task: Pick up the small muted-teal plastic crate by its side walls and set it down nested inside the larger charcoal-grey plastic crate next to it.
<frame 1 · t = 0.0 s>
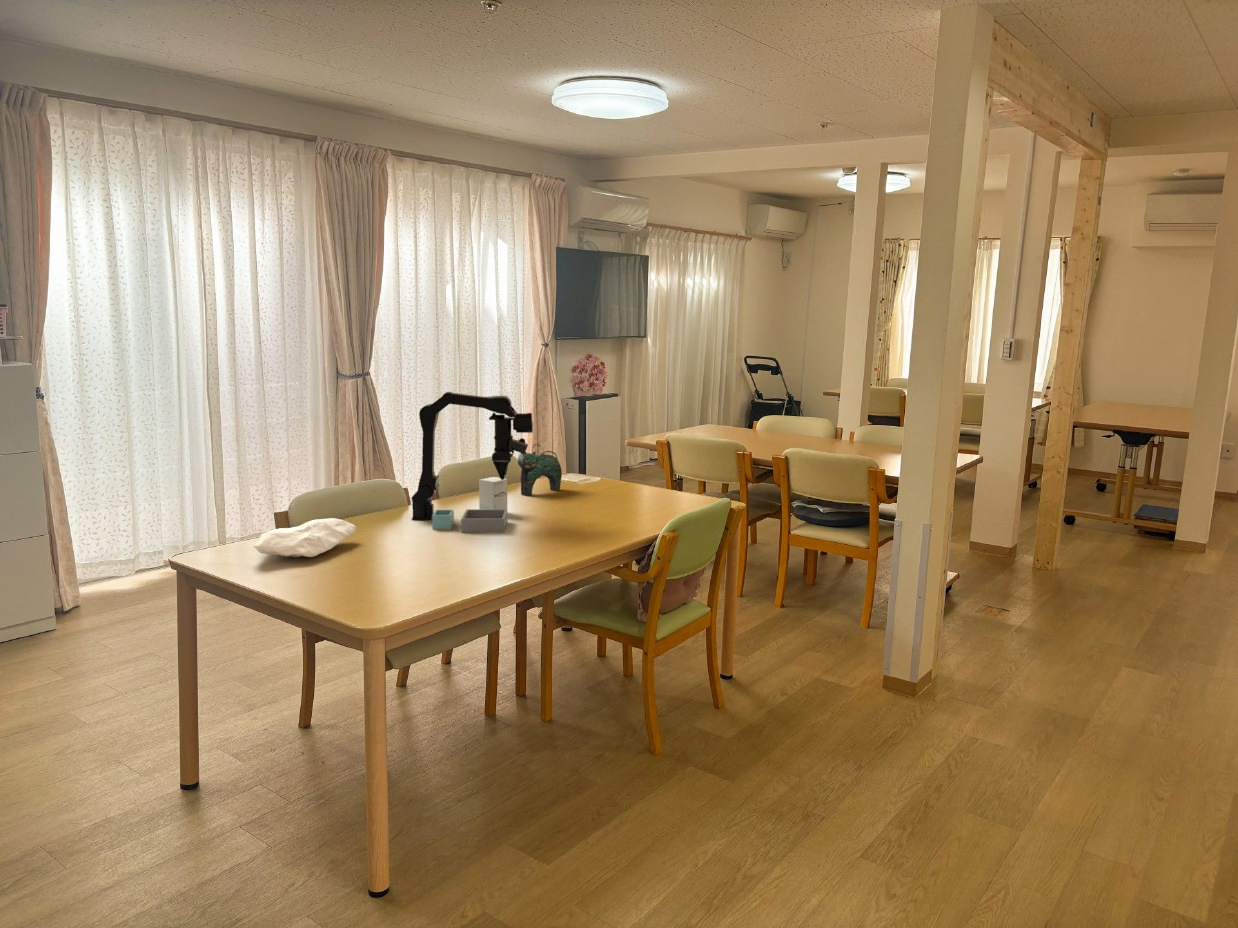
hand: (503, 477, 307), 15 cm above the table, tool pointing down, fingers open, 9 cm apart
teal crate: (443, 527, 297), on the table
supplement box: (493, 514, 316), on the table
grey crate: (485, 527, 296), on the table
crumpled cloth: (302, 552, 265), on the table
ceramic cat: (539, 493, 352), on the table
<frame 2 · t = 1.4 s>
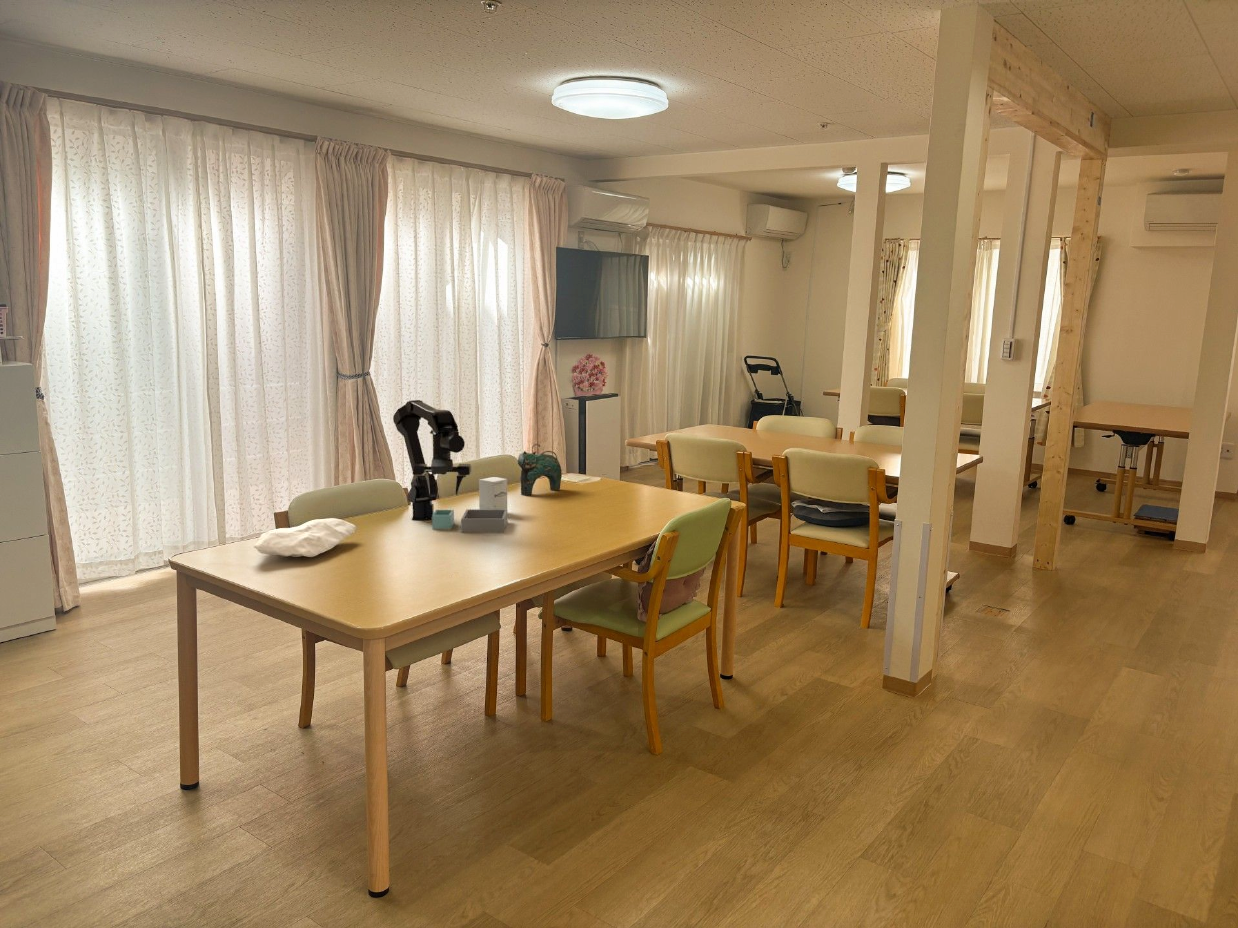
hand: (442, 494, 295), 11 cm above the table, tool pointing down, fingers open, 9 cm apart
nothing on the table moved.
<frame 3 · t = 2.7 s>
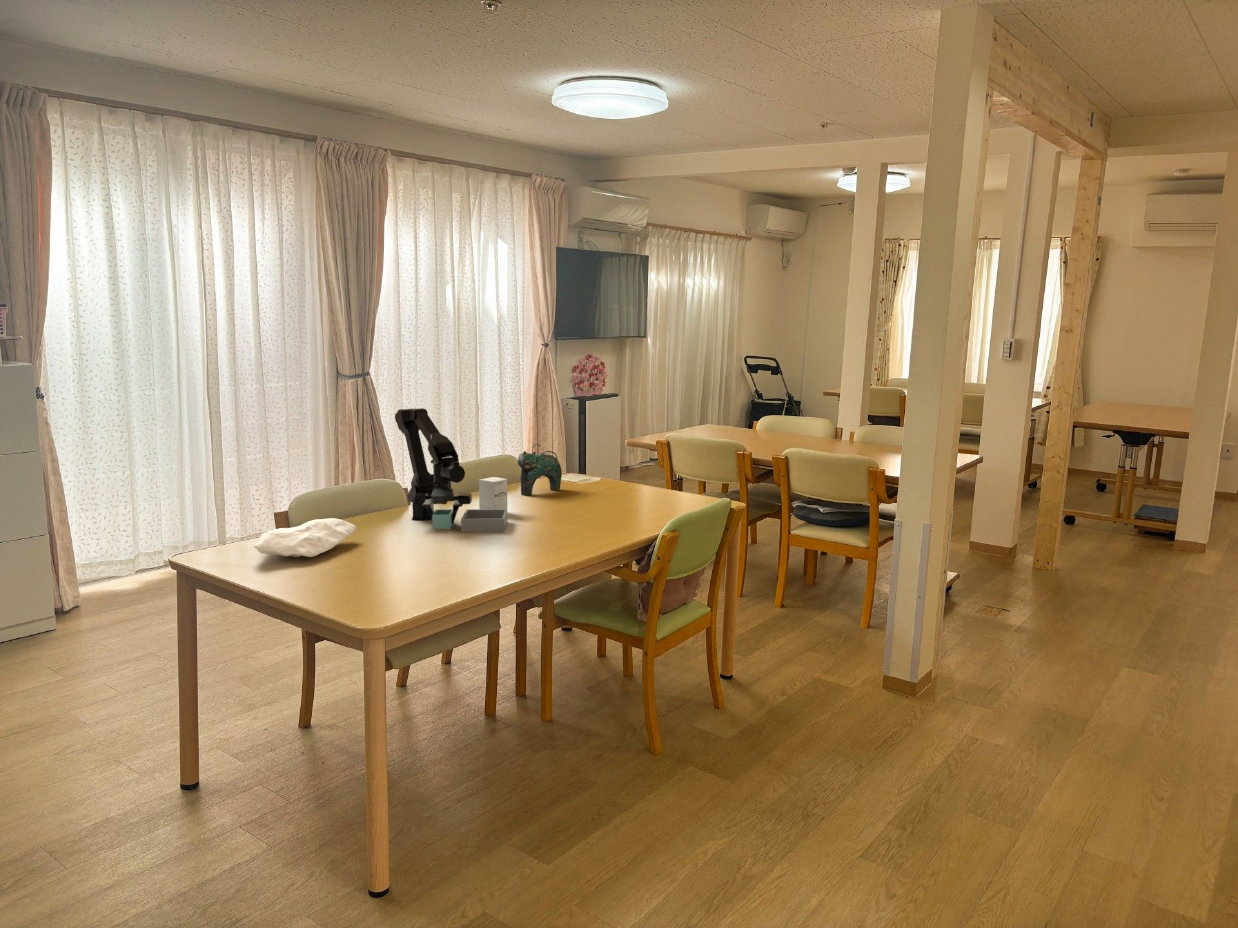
hand: (443, 523, 296), 1 cm above the table, tool pointing down, fingers closed on teal crate, 6 cm apart
teal crate: (443, 526, 296), on the table, touching gripper
everything else where it was.
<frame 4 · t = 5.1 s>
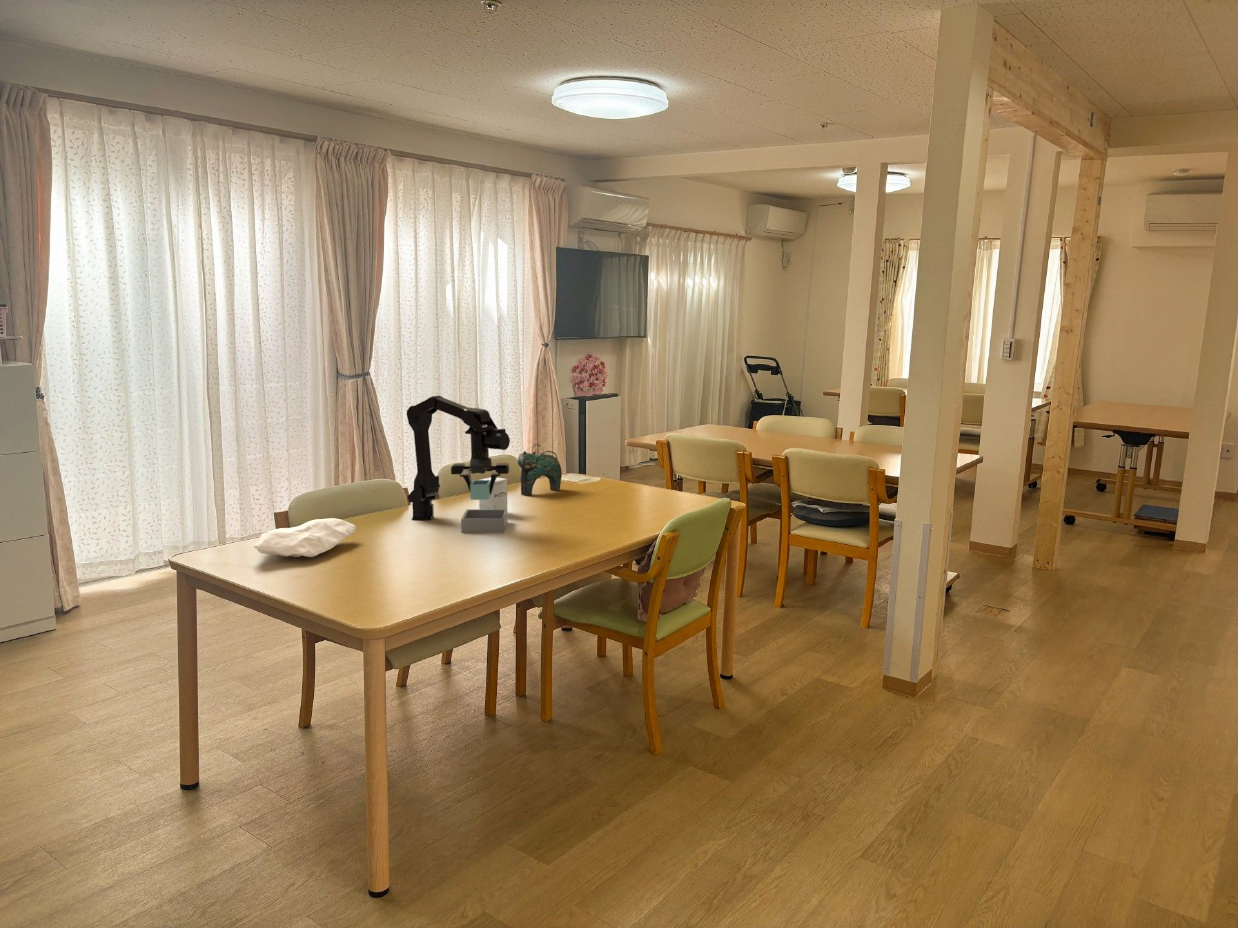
hand: (481, 494, 294), 11 cm above the table, tool pointing down, fingers closed on teal crate, 6 cm apart
teal crate: (481, 497, 294), point 10 cm above the table, touching gripper
everything else where it was.
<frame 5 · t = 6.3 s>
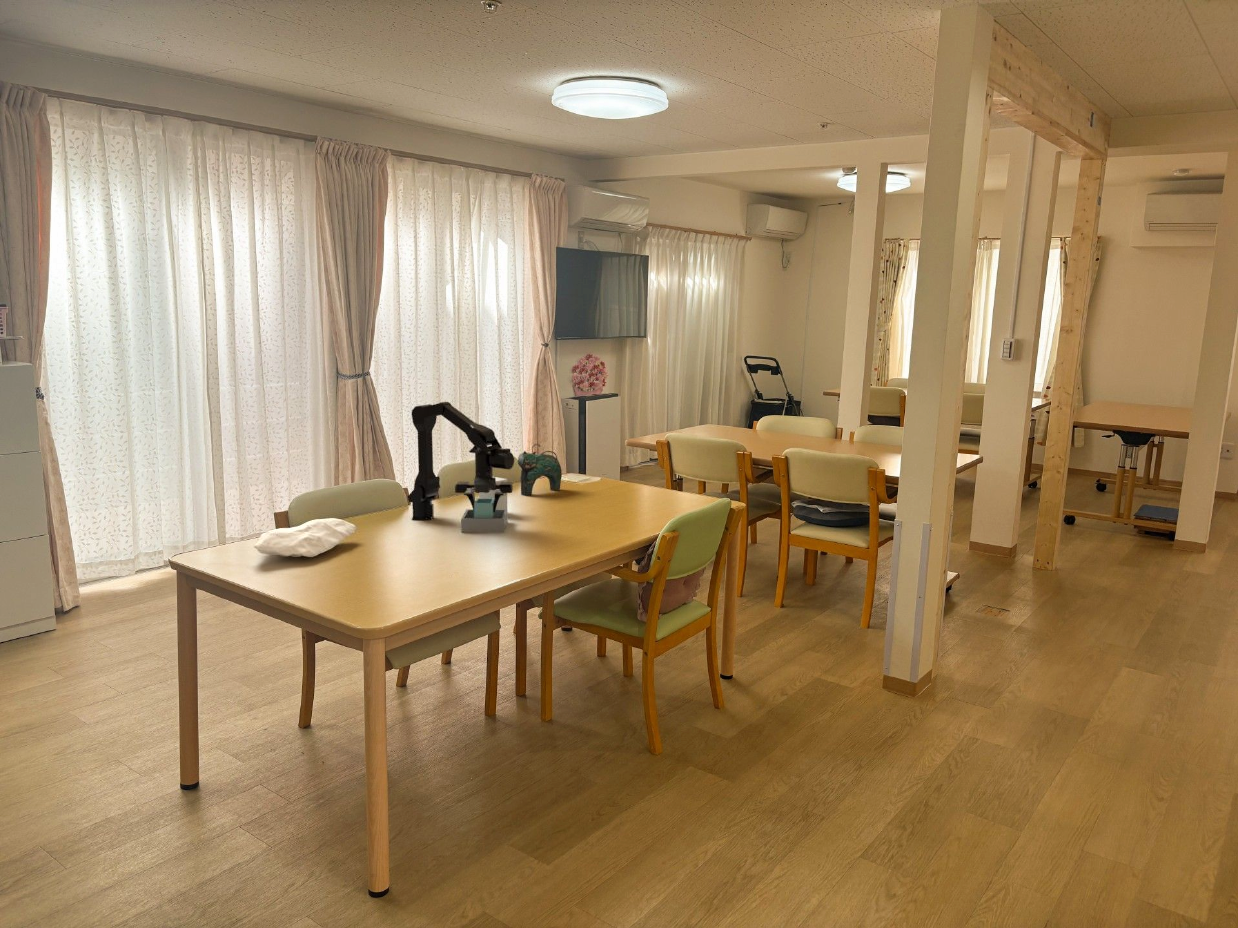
hand: (484, 512, 295), 5 cm above the table, tool pointing down, fingers closed on teal crate, 6 cm apart
teal crate: (484, 515, 295), point 4 cm above the table, touching gripper
everything else where it was.
when the fingers open (4 cm above the table, at t = 7.4 s): teal crate drops 2 cm, resting on grey crate.
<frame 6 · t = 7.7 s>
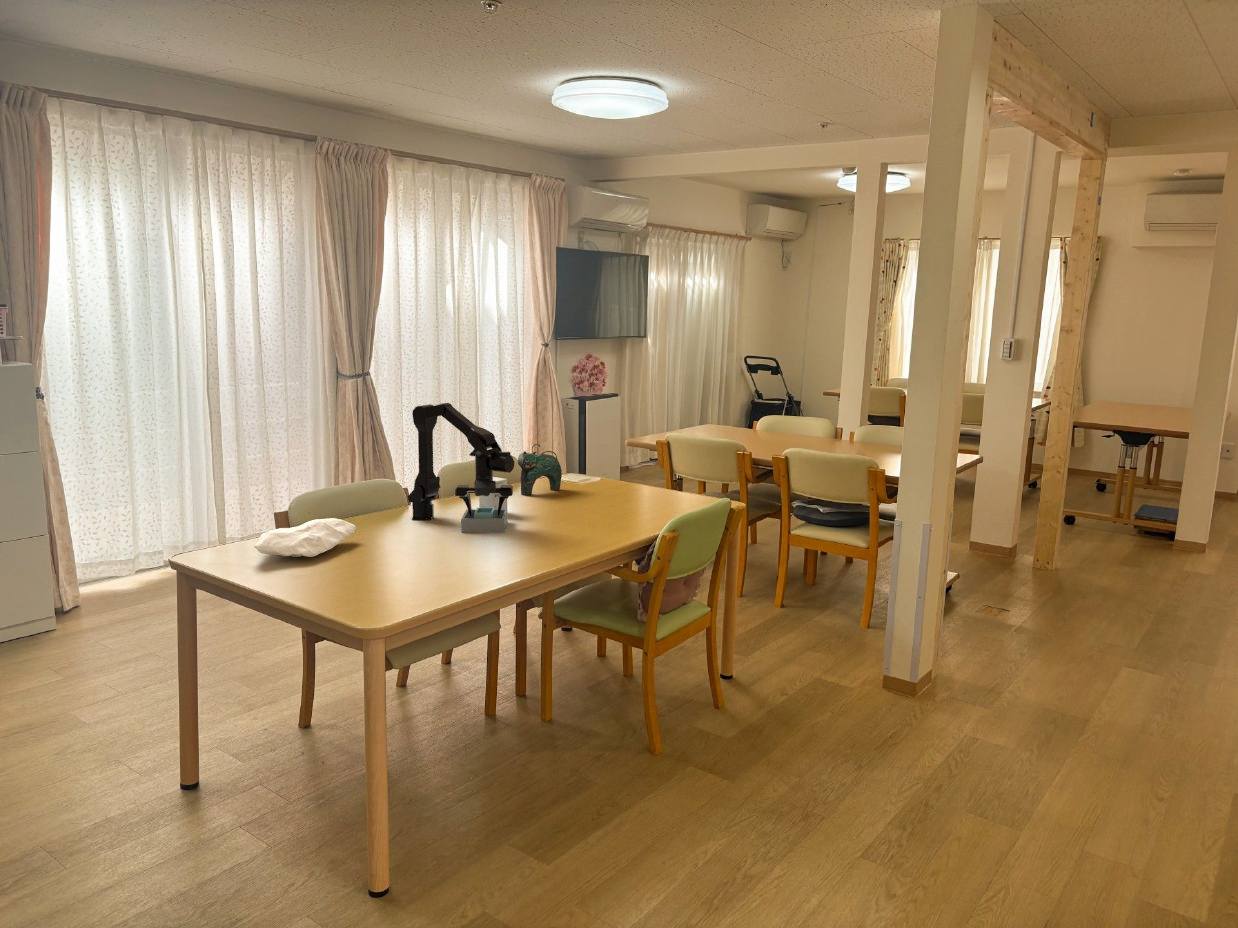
hand: (484, 515, 295), 4 cm above the table, tool pointing down, fingers open, 9 cm apart
teal crate: (484, 524, 296), point 1 cm above the table, touching grey crate
everything else where it was.
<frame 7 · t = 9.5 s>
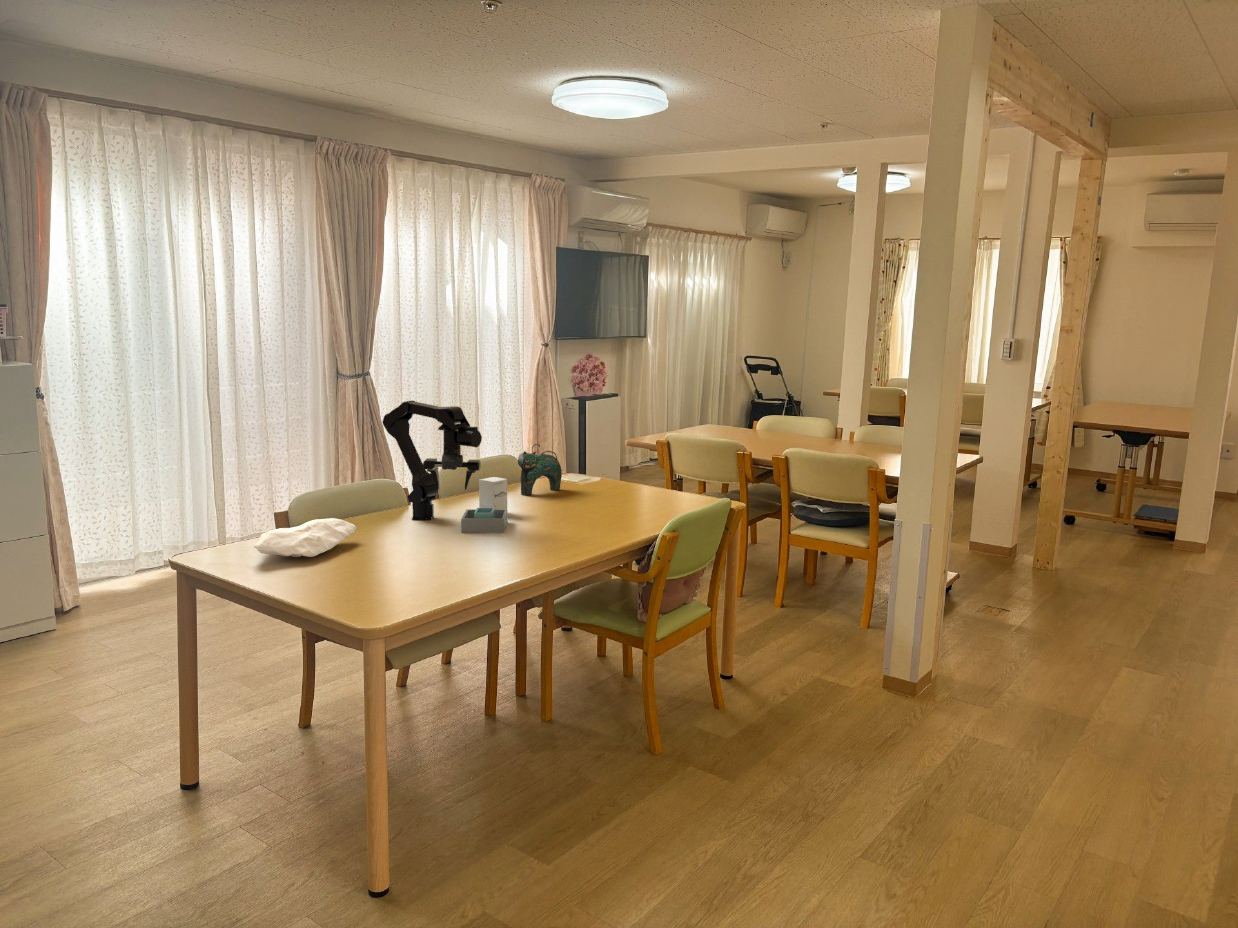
hand: (452, 489, 300), 12 cm above the table, tool pointing down, fingers open, 9 cm apart
nothing on the table moved.
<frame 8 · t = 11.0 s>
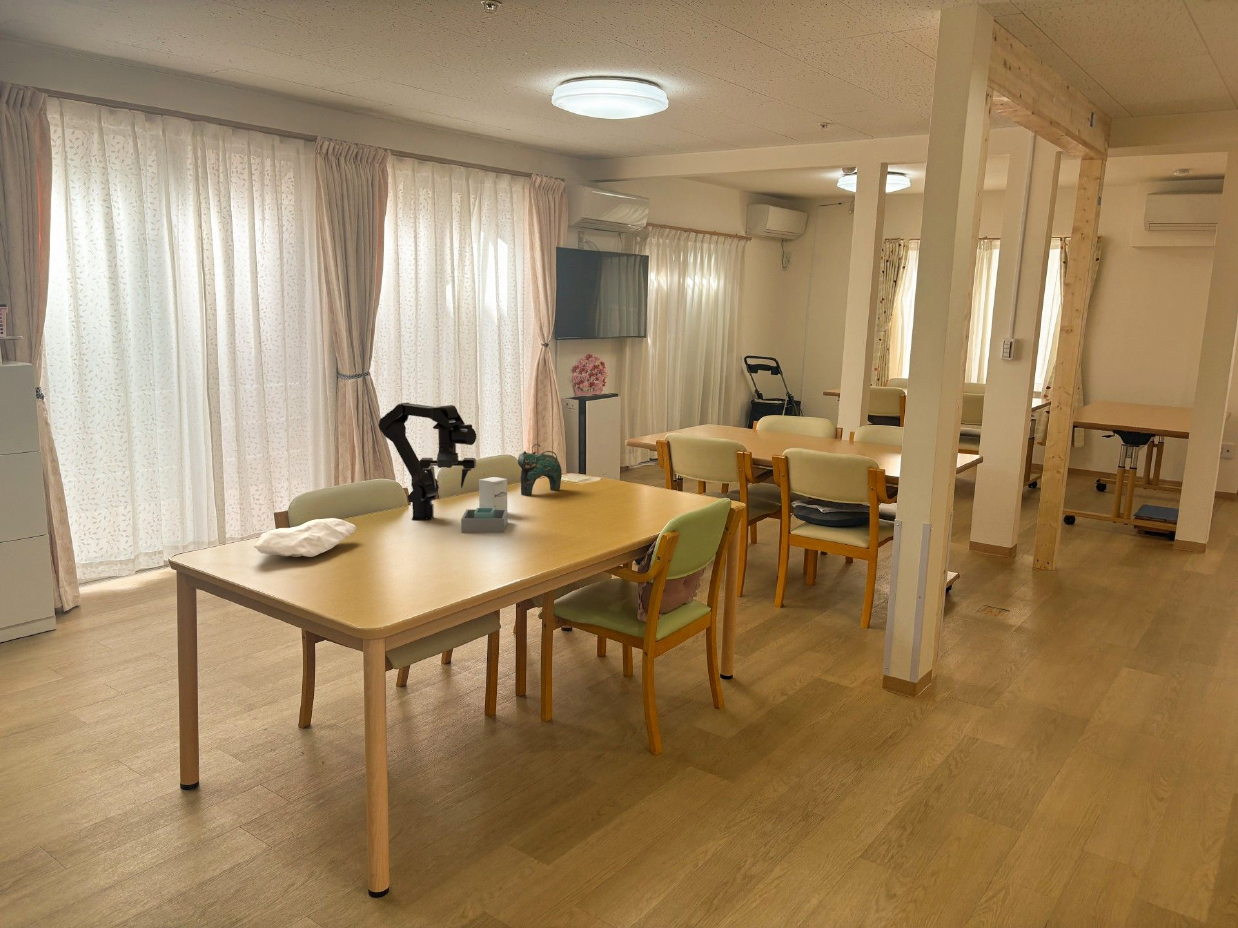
hand: (448, 487, 300), 12 cm above the table, tool pointing down, fingers open, 9 cm apart
nothing on the table moved.
at the end: teal crate inside the target area on the grey crate (0.1 cm from its centre), point 0.8 cm above the grey crate's base; teal crate tilted 0°; the gripper is holding nothing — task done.
